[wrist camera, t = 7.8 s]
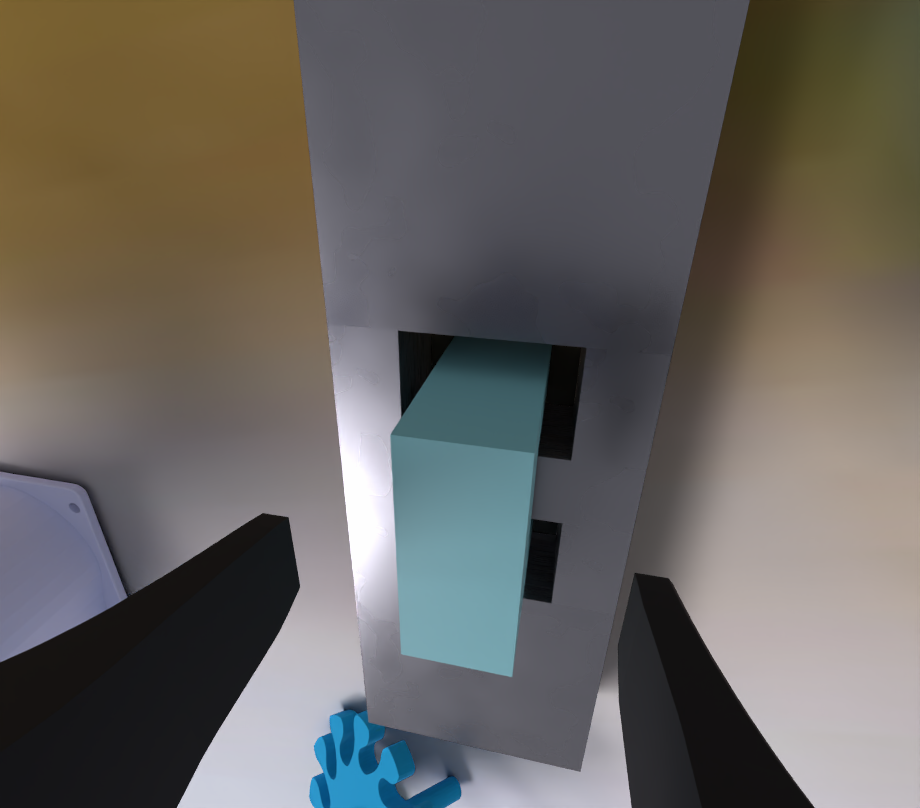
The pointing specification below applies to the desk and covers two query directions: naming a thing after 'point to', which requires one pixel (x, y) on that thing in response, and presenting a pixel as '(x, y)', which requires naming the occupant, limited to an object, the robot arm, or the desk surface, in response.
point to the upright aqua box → (468, 501)
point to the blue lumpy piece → (368, 769)
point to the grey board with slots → (510, 292)
